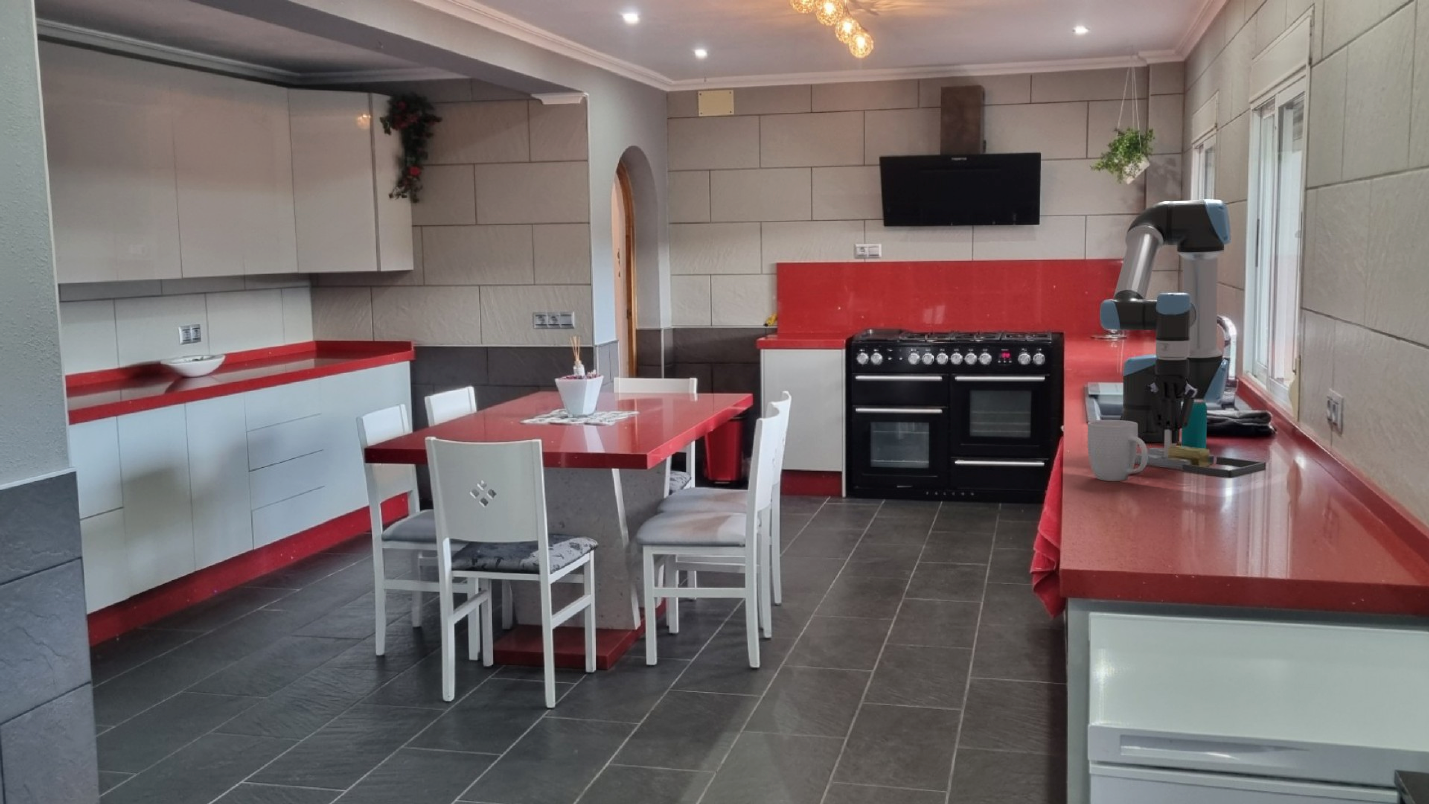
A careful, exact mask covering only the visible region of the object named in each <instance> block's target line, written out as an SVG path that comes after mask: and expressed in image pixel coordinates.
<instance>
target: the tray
mask: <svg viewBox="0 0 1429 804" xmlns="http://www.w3.org/2000/svg"><path fill="white" fill-rule="evenodd" d="M1215 463H1216V464H1217V465H1227V466H1234V467H1235V466H1236V467H1237V468H1233V469H1224V468H1223V469H1222V468H1215V467H1210V466H1208V467H1202V466H1195V465H1187V464H1183V470H1182V472H1186V473H1193V474H1199V475H1200V474H1201V475H1208V476H1216V477H1223V478H1234V477H1239V476H1243V475H1247V474H1251V473H1255V472H1259V471H1263V470H1266V466H1267V465H1266V464H1267V462H1266V461H1256V460H1250V459H1249V460H1248V459H1241V458H1232V457H1224V456H1216V460H1215Z"/></svg>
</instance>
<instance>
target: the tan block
mask: <svg viewBox="0 0 1429 804" xmlns="http://www.w3.org/2000/svg"><path fill="white" fill-rule="evenodd" d="M1189 448H1193V447H1186V446H1181V445H1176V446H1174V447H1169V455H1168V457H1172V458H1179V459H1184V449H1189Z"/></svg>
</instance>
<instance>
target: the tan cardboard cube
mask: <svg viewBox="0 0 1429 804" xmlns="http://www.w3.org/2000/svg"><path fill="white" fill-rule="evenodd" d="M1209 455H1210V449H1208V448H1206V449H1202V448H1194V447H1193V448H1189V449H1184V459H1187V460H1192V462H1191V465H1195V466H1202V467H1210V465H1209Z"/></svg>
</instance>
